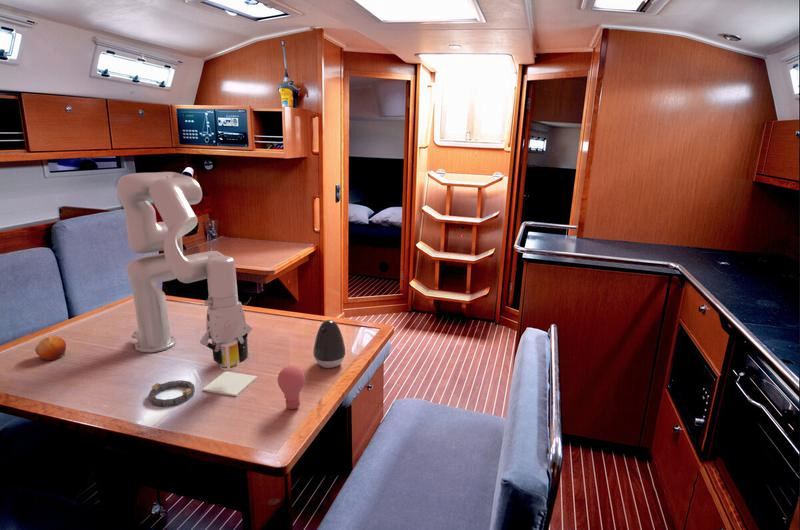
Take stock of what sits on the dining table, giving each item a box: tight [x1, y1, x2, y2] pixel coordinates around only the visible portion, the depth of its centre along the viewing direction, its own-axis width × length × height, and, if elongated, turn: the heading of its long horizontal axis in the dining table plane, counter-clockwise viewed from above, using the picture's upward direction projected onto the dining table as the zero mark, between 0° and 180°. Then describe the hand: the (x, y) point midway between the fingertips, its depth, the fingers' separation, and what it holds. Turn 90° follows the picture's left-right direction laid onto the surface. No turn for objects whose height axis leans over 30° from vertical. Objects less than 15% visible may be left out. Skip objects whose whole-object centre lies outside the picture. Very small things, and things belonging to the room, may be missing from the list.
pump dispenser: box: [313, 319, 346, 369], centre depth 150 cm, size 10×10×15 cm
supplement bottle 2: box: [239, 336, 249, 362], centre depth 154 cm, size 7×7×12 cm
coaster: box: [202, 370, 258, 397], centre depth 138 cm, size 11×11×1 cm
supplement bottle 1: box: [218, 338, 240, 371], centre depth 135 cm, size 6×6×10 cm
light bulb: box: [277, 365, 306, 410], centre depth 126 cm, size 7×7×12 cm
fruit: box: [34, 335, 67, 361], centre depth 152 cm, size 8×8×8 cm
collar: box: [147, 379, 196, 408], centre depth 131 cm, size 11×11×2 cm
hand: (228, 358), depth 136 cm, fingers closed on supplement bottle 1, 5 cm apart
